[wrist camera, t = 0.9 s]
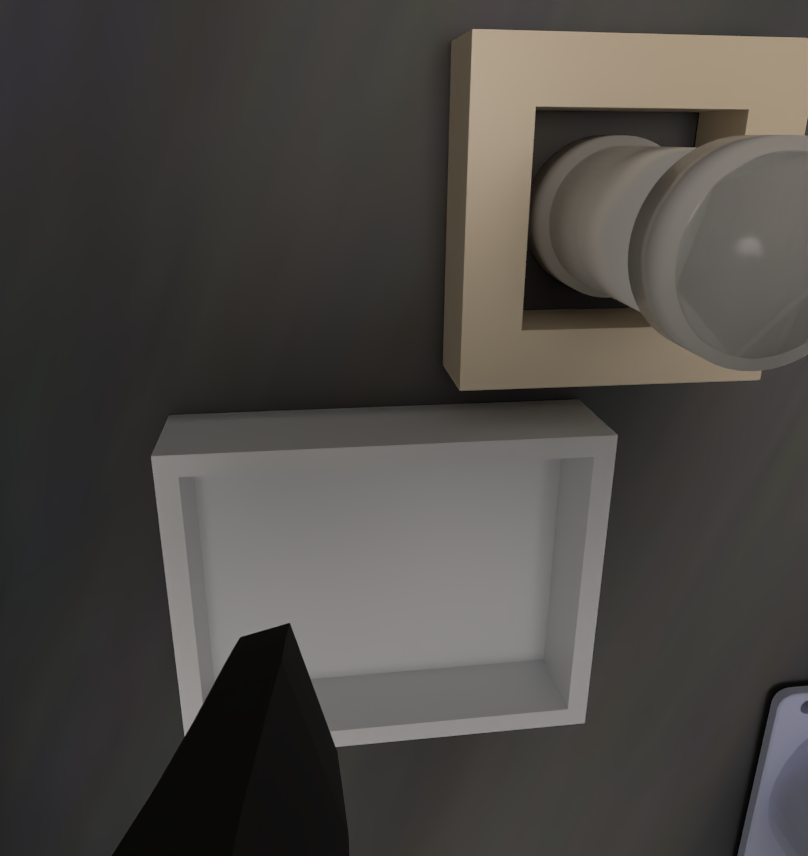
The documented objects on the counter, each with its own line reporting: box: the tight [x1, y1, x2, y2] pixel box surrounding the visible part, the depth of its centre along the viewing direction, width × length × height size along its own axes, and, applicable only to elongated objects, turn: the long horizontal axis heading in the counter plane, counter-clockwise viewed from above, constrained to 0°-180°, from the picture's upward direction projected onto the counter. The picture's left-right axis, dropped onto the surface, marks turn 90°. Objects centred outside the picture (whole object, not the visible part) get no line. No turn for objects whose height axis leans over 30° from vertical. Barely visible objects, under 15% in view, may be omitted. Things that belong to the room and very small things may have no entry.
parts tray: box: [151, 399, 618, 747], centre depth 19 cm, size 10×8×2 cm
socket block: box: [443, 29, 808, 391], centre depth 17 cm, size 7×7×2 cm
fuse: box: [527, 135, 808, 371], centre depth 14 cm, size 3×3×7 cm
